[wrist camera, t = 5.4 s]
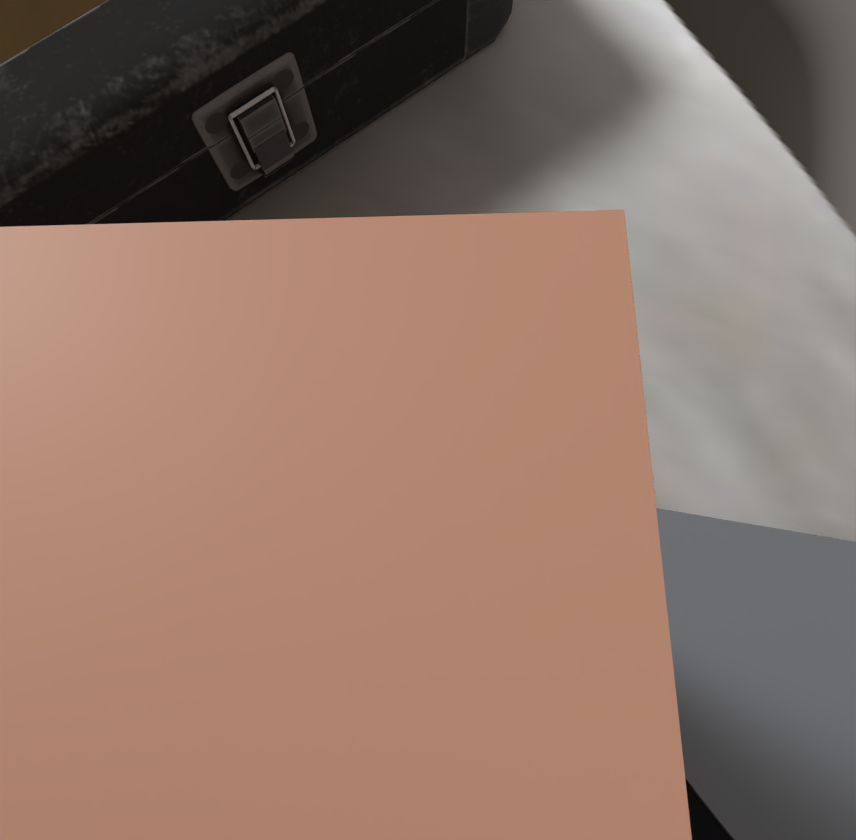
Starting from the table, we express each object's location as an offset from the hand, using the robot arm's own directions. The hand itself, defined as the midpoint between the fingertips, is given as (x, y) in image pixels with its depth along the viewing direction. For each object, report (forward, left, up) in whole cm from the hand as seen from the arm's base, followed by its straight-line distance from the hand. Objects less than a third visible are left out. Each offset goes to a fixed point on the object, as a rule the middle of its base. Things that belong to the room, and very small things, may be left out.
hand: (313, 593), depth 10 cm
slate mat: (-6, -12, -13) cm, 19 cm away
